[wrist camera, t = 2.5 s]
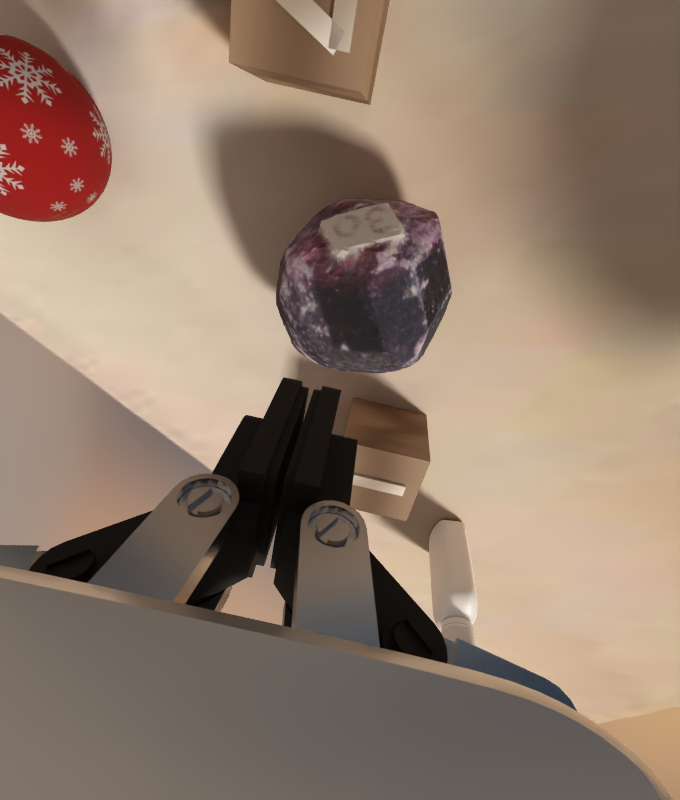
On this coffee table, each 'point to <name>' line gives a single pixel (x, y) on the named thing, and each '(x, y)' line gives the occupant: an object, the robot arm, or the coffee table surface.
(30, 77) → the christmas ornament
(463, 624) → the eye dropper bottle
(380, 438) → the walnut block
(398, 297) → the mineral specimen
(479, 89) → the coffee table surface
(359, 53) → the brown cube
